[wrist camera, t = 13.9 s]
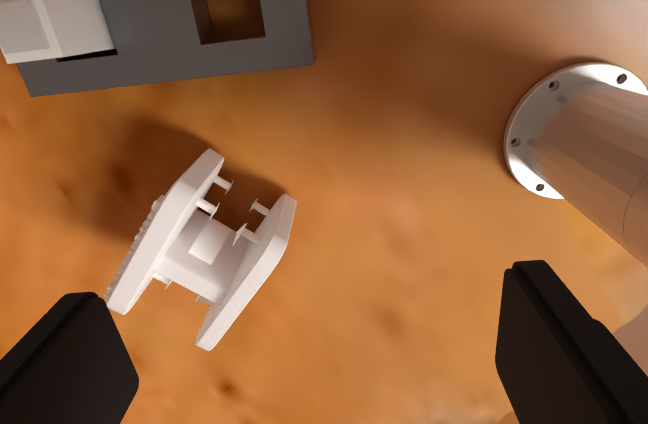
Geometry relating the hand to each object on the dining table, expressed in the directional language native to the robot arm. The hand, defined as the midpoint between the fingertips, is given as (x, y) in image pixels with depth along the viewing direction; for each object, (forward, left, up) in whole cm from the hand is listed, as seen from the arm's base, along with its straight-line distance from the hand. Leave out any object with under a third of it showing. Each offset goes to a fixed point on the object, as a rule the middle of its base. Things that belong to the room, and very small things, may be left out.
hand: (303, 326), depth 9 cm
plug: (+19, -8, -30) cm, 37 cm away
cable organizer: (+13, +12, -31) cm, 35 cm away
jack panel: (+13, -8, -30) cm, 34 cm away
